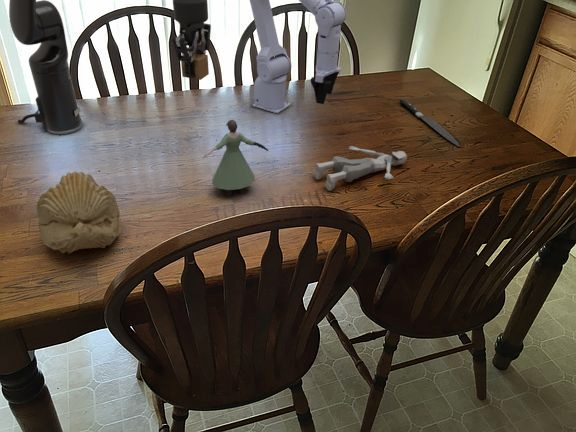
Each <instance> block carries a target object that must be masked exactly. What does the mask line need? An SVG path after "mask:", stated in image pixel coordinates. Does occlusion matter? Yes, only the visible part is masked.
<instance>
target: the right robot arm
mask: <svg viewBox="0 0 576 432" xmlns="http://www.w3.org/2000/svg"><path fill="white" fill-rule="evenodd" d="M298 2H300V3H301V4H302V6H304V7H305V8H306V9H307V10H308V11H309V12H310V13H311V14H312V15H313V16H314V19H315V20H314V21H315V23H316V25H317V32H318V36H317V37H318V38H317V51H316V65H315V76H312V77H311V78H310V84H311V86H312V89H313V92H314V96H315V102H316V104H320V105H324V104H325V102H326V99H327V95H332V93H333V90H334V86H335V83H336V80H337V77H338V76H339V74H340V72H341V71H342V67H339V66H338V61H339V50H340V40H341V31H342V30H341V28H342V24H343V23H345V21H346V20H347V10H346V7H345V6H344V5H343V3H342V2H341V1H340V0H339V1H338V0H335V1H334V0H298ZM249 3H250V7H251V12H252V16H253V20H254V21H253V22H254V24H255V29H256V33H257V37H258V43H259V46H260V51H259V52H258V53H257V55H256V58H255V60H256V73H257V77H256V79H255V80H254V85H253V103H252V107H254V108H258V109H261V110H265V111H267V112H271V113H275V114H279V113H281V112H282V111H284V110H285V109H287V108H288V107H290V106H291V103H289V102H286V89H287V88H286V86H287V79H288V75H289V74H290V73H291V71H292V61H291V59H290V57H289V56H288V54H287V49H286V48H285V47H284V46H282V45H280V42H279V38H278V37H279V36H278V33H277V29H276V25H275V19H274V16H273V11H272V6H271V2H270V0H249Z"/></svg>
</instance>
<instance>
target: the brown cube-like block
mask: <svg viewBox="0 0 576 432" xmlns="http://www.w3.org/2000/svg"><path fill="white" fill-rule="evenodd" d="M188 53H189V57H190V52H189V51H188ZM180 63H181V64H180V66H181V75H182V78H188V79H190V78H189V77H186V75H185V64H184V61H180ZM194 67H195V77H194V78H191V79H193V80H199V81H201V80H203V79H204V78H206V77H207V76H209V74H210V71H209V70H210V69H209V56H208V54H205V55H204V54H198V53H194Z"/></svg>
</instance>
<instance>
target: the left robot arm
mask: <svg viewBox="0 0 576 432" xmlns="http://www.w3.org/2000/svg"><path fill="white" fill-rule="evenodd" d="M8 4H9V5H8V7H9V8H8V16H9V25H10V28H11V31H12V34H13V36H14V37H15V38H16V40H17V41H18V42H19V43H20V44H22V45H25V46H34V45H39V44H40V45H39V47H38V48H37V49H36V51H34V53H32V54H31V55H30V56H29V58H28V65H29V68H30V72H31V76H32V80H33V83H34V86H35V91H36V94H37V96H36V97H35V104H36V106H37V110H36V112H34V113H31V114H27V115H24V116H23V117H22V118H21V119H18V120H17V123H19V124H22V123H25V122H26V120H27V119H30V118H34V121H35V123H36V124H41V125H42V128H43V131H44V132H48V133H49V134H53V135H67V134H72V133H74V132H77V131H79V130H80V129H81V128H82V126H83V121H82V119H81V118H82V117H81V115H80V113H81V111H82V110H81V106H80V105H78V101H77V97H76V92H75V88H74V84H73V83H74V82H73V80H72V76H71V75H72V74H71V70H70V67H69V62H68V59H69V50H68V44H67V39H66V34H65V33H66V32H65V26H64V21H63V18H62V16H61V14H60V11H59V10H58V8H57V6H56V5H55V4H54V3H53V2H51V1H49V0H9V3H8ZM208 4H209V3H208V0H172V8H173V17H174V20H175V21H176V22H177V23H178V24H179V31H178V32H179V33H178V35H177V36H172V43H173V47H174V51H175V55H176V57H177V60H178V61H179V62H181V61H184V64H185V75H186V77H185V78H187V77H189V78H188V79H192V78H194V77H195V67H194V53H198V54H204V55H207V51H209V50H210V43H211V32H212V31H211V30H212V25H211V24H210V23H205V22H207V21H208V19H209V5H208ZM189 52H190V57H189Z"/></svg>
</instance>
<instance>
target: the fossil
mask: <svg viewBox="0 0 576 432" xmlns="http://www.w3.org/2000/svg"><path fill="white" fill-rule="evenodd" d="M36 214H37V216H36V217H37V218H38V219H37V220H38V229H39V236H40V238H41V240H42V243H43V245H45V246H46V247H48V248H50V249H52V250H54V251H59V252H60V253H62V254H65V253H67V254H72V253H73V252H76V251H78V250H83V249H84V250H86V249H93V248H94V249H97V248H103V249H104V248H106V246H111V245H112V244H113V242H114V241H116V238H117V237H119V235H120V233H121V231H122V222H121V220H120V217H121V215H120V209H119V205H118V203H117V199H116V196H115V195H114V193H113V192H112V191H110V190H108V188H106V186H105V185H103V184H100V185H99V184H98V183H97V182H96V181H95V179H94V177H93V175H91V174H90V173H86V174H85V173H84V172H83V171H79V172H77V171H76V170H75V171H73V172H70V171H67V173H66V175H64V174H63V175H62V176H61V177H60V180H59V183H57V184H56V185H55V187H53V186H49V188H48V190H46V192H43V193H41V194H40V195H39V198H38V201H37V203H36Z"/></svg>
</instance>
